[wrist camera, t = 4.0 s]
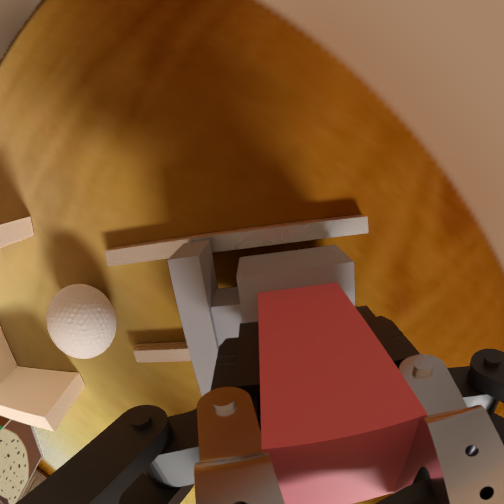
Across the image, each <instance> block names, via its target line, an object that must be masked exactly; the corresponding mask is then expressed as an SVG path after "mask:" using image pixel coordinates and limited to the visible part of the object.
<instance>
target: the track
mask: <svg viewBox="0 0 504 504" xmlns="http://www.w3.org/2000/svg"><path fill="white" fill-rule="evenodd" d="M364 233H368V218H367V216H365V215H363V214H359V215H350V216H341V217H332V218H323V219H314V220H306V221H298V222H289V223H281V224H273V225H265V226H258V227H250V228H242V229H235V230H227V231H220V232H213V233H205V234H198V235H191V236H184V237H177V238H170V239H164V240H157V241H150V242H144V243H137V244H131V245H124V246H118V247H112V248H109V249H108V250H106V251H104V252H105V256H106V260H107V265H108V266H114V265H122V264H130V263H137V262H145V261H152V260H160V259H167V258H170V257H171V256H172V255H173V254H174V253H175V252H176V251H177V250H178V249H179V248H180V247H181V246H182V245H183V244H184V243H189V242H196V241H203V240H210V244H211V250H212V253H214V252H221V251H229V250H237V249H245V248H252V247H260V246H268V245H276V244H284V243H292V242H300V241H308V240H315V239H323V238H331V237H339V236H347V235H356V234H364ZM133 353H134V356H135V358H136V361H137V362H174V361H191V357H190V353H189V350H188V346H187V342H186V341H184V342H167V343H145V344H137V345H136V347H135V348H134V350H133Z"/></svg>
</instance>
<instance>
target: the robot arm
mask: <svg viewBox="0 0 504 504" xmlns="http://www.w3.org/2000/svg"><path fill="white" fill-rule="evenodd" d="M356 309H357V310H358V312H359V313H360V314H361V316H362V317H363V319H364V320H365V321H366V323H367V324H368V326H369V327H370V328H371V330H372V331H373V333H374V334H375V336H376V337H377V339H378V340H379V341H380V343H381V344H382V346H383V347H384V349H385V350H386V352H387V353H388V354H389V356H390V357H391V359H392V360H393V362H394V363H395V365H396V366H397V368H398V369H399V371H400V372H401V374H402V375H403V377H404V378H405V380H406V381H407V383H408V384H409V386H410V387H411V389H412V391H413V392H414V394H415V395H416V397H417V398H418V400H419V401H420V403H421V405H422V406H423V408H424V409H425V411H426V412H427V417H426V418H422V419H420V420H419V423H418V426H417V429H416V432H415V435H414V438H413V441H412V444H411V447H410V451H409V454H408V456H407V459H406V462H405V464H404V467H403V469H402V472H401V474H400V476H399V478H398V480H397V483H396V485H395V487H394V490H393V493H392V495H391V496H389V497H387V498H385V499H383V500H381V501H380V502H378V503H376V504H504V418H503V417H501V416H499V415H497V414H495V413H494V412H495V409H496V407H497V405H498V402H499V401H501V402H503V403H504V352H502V351H499V350H495V349H483V350H480V351H478V352H476V353H475V354H474V355H473V356H472V358H471V362H470V365H469V366H466V367H455V368H447V367H446V365H445V364H444V362H443V361H442V360H440V359H439V358H437V357H434V356H431V355H424V354H420V353H419V352H418V351H417V350H416V349H415V347H414V346H413V345H412V344H411V343H410V341H409V340H408V339H407V338H406V337H405V336H404V334H403V333H402V332H401V331H400V330H399V328H398V327H397V326H396V325H395V324H394V323H393V321H391V320H389V319H387V318H385V317H383V316H379V317H375V315H374V314H373V313H372V312H371V310H370V309H369V308H368V307H367V306H360V307H356ZM194 484H195V497H196V504H285V503H284V499H283V496H282V493H281V490H280V487H279V484H278V481H277V478H276V474H275V471H274V468H273V465H272V462H271V458H270V455H269V453H268V451H267V452H262V450H261V406H260V363H259V322H258V321H256V322H247V323H240V326H239V337H235V338H226V339H225V340H224V342H223V343H222V344H221V345H220V346H219V349H218V354H217V359H216V365H215V369H214V374H213V379H212V385H211V390H210V391H209V392H207V393H206V394H205V395H203V396H202V397H201V398H200V400H199V401H198V404H197V409H195V410H193V411H190V412H187V413H183V414H179V415H175V416H170V417H167V415H166V413H165V411H164V410H162V409H161V408H159V407H157V406H153V405H141V406H137V407H133V408H131V409H129V410H127V411H126V412H125V413H123V414H122V415H121V416H120V417H119V418H117V419H116V420H115V421H114V422H113V423H112V424H111V425H109V426H108V427H107V428H106V429H105V430H104V431H103V432H101V433H100V434H99V435H98V436H97V437H96V438H94V439H93V440H92V441H91V442H90V443H89V444H87V445H86V446H85V447H84V448H83V449H82V450H80V451H79V452H78V453H77V454H76V455H74V456H73V457H72V458H71V459H70V460H68V461H67V462H66V463H65V464H64V465H62V466H61V467H60V468H59V469H58V470H56V471H55V472H54V473H53V474H52V475H50V476H49V477H48V478H47V479H45V480H44V481H43V482H42V483H40V484H39V485H38V486H37V487H35V488H34V489H33V490H32V491H30V492H29V493H28V494H27V495H25V496H24V497H23V498H22V499H20V500H19V501H18V502H16V503H15V504H180V503H181V502H182V500H183V499H184V498H185V497H186V495H187V494H188V493H189V492H190V490H191V489H192V488H193V486H194Z"/></svg>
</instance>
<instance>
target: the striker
mask: <svg viewBox="0 0 504 504" xmlns="http://www.w3.org/2000/svg"><path fill="white" fill-rule="evenodd" d="M167 261H168V266H169V270H170V275H171V280H172V284H173V289H174V293H175V298H176V302H177V306H178V310H179V315H180V319H181V323H182V327H183V331H184V334H185V338H186V342H187V346H188V350H189V353H190V357H191V361H192V364H193V368H194V371H195V375H196V378H197V382H198V385H199V388H200V392H201V395H202V396H203V395H205V394H206V393H207V392H209V391H210V390H211V385H212V379H213V374H214V369H215V365H216V359H217V354H218V349H219V346H220V345H221V344H222V343H223V342H224V340H225V339H226V338H235V337H239V326H240V323H247V322H256V321H258V322H259V363H260V406H261V450H262V452H267V451H268V453H269V455H270V458H271V462H272V465H273V468H274V471H275V474H276V478H277V481H278V484H279V487H280V490H281V493H282V496H283V499H284V503H285V504H353V503H357V502H361V501H365V500H369V499H372V498H376V497H380V496H383V495H386V494H390V493H393V490H394V487H395V485H396V483H397V480H398V478H399V476H400V474H401V472H402V469H403V467H404V464H405V462H406V459H407V456H408V454H409V451H410V447H411V444H412V441H413V438H414V435H415V432H416V429H417V426H418V423H419V420H420V419H422V418H426V417H427V412H426V411H425V409H424V408H423V406H422V405H421V403H420V401H419V400H418V398H417V397H416V395H415V394H414V392H413V391H412V389H411V387H410V386H409V384H408V383H407V381H406V380H405V378H404V377H403V375H402V374H401V372H400V371H399V369H398V368H397V366H396V365H395V363H394V362H393V360H392V359H391V357H390V356H389V354H388V353H387V352H386V350H385V349H384V347H383V346H382V344H381V343H380V341H379V340H378V339H377V337H376V336H375V334H374V333H373V331H372V330H371V328H370V327H369V326H368V324H367V323H366V321H365V320H364V319H363V317H362V316H361V314H360V313H359V312H358V310H357V309H356V307H355V283H354V261H352V260H351V259H350V258H349V257H348V256H347V255H346V254H345V253H344V252H343V251H341V250H340V249H339V248H338V247H337V246H336V245H331V246H323V247H316V248H308V249H300V250H292V251H284V252H277V253H269V254H261V255H253V256H245V257H240V258H239V264H238V270H237V275H236V279H237V286H238V287H229V288H220V289H218V285H217V279H216V273H215V268H214V262H213V256H212V250H211V244H210V240H203V241H196V242H189V243H184V244H183V245H182V246H181V247H180V248H179V249H178V250H177V251H176V252H175V253H174V254H173V255H172V256H171V257H170V258H169V259H168V260H167Z"/></svg>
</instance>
